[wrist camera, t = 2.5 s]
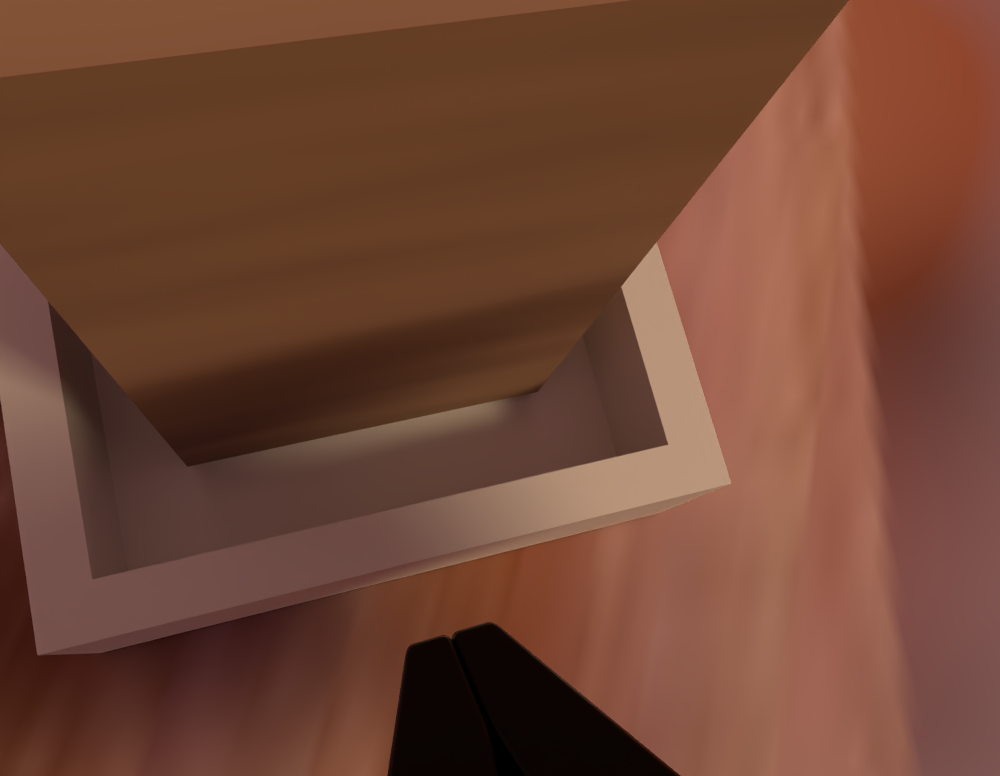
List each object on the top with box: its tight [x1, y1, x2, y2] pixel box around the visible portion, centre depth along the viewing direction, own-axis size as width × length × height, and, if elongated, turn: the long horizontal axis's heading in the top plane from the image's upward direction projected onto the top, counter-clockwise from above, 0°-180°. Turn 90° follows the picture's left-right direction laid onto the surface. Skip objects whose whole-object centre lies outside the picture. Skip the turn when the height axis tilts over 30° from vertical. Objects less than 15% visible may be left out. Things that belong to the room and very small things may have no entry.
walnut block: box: [0, 0, 849, 467], centre depth 11 cm, size 5×6×11 cm
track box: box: [0, 242, 731, 655], centre depth 17 cm, size 21×10×4 cm, turn 14°
